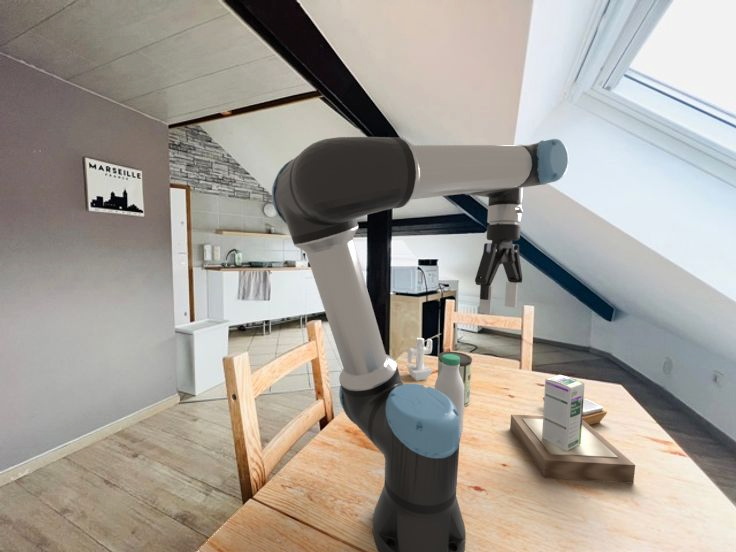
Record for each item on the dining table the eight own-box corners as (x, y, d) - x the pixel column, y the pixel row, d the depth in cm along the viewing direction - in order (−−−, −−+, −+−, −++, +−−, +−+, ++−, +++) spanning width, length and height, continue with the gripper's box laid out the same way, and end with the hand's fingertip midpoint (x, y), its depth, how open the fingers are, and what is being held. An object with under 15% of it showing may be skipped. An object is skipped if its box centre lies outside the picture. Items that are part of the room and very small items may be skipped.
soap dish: (606, 424, 87) (608, 407, 86) (582, 431, 83) (583, 413, 83) (564, 403, 99) (565, 388, 98) (541, 408, 95) (542, 392, 95)
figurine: (403, 375, 117) (404, 336, 116) (425, 372, 120) (426, 334, 119) (412, 383, 110) (413, 342, 109) (435, 380, 114) (436, 340, 112)
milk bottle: (464, 440, 78) (468, 362, 76) (432, 436, 79) (435, 360, 78) (461, 423, 85) (464, 352, 84) (432, 420, 87) (435, 350, 85)
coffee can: (435, 390, 105) (437, 350, 104) (467, 394, 103) (469, 352, 102) (436, 406, 95) (438, 361, 94) (472, 409, 93) (474, 364, 92)
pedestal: (544, 477, 66) (545, 459, 65) (510, 428, 83) (511, 413, 83) (633, 483, 65) (635, 464, 64) (579, 432, 82) (580, 417, 82)
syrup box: (567, 452, 67) (572, 387, 66) (540, 437, 73) (545, 377, 71) (581, 444, 70) (586, 382, 69) (554, 431, 75) (559, 373, 74)
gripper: (494, 219, 65) (488, 319, 67) (539, 226, 82) (533, 306, 83) (462, 221, 71) (457, 313, 72) (510, 227, 87) (506, 302, 89)
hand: (498, 310), depth 78 cm, fingers open, 13 cm apart
